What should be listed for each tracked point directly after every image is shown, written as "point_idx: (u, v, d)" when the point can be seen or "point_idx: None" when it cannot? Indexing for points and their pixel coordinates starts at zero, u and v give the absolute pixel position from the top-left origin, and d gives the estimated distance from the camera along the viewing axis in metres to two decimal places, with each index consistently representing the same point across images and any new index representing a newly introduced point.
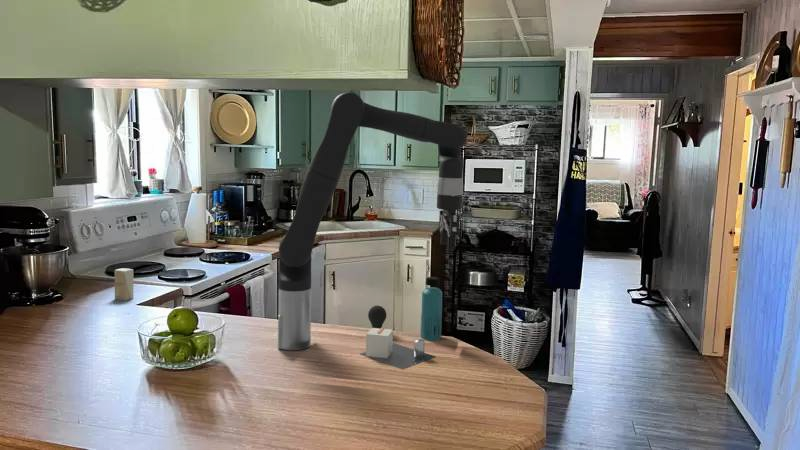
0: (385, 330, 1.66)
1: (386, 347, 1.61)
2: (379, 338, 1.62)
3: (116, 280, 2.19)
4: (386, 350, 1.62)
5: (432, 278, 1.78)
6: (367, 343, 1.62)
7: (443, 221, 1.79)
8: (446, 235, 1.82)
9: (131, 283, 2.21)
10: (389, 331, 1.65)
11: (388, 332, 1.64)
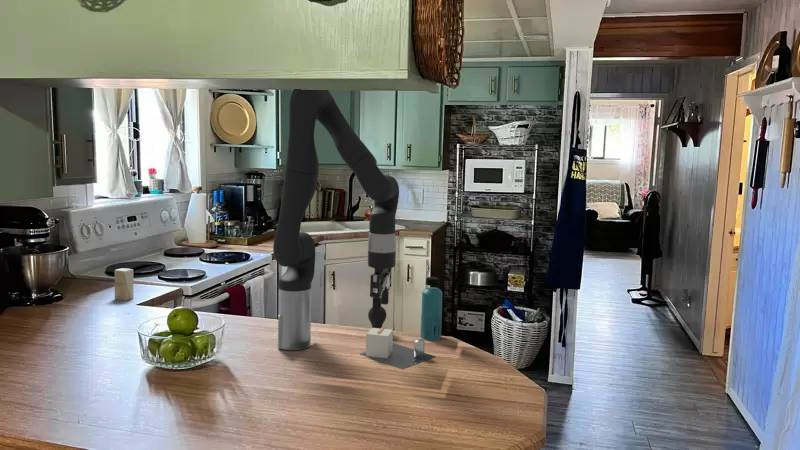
0: (385, 330, 1.66)
1: (386, 347, 1.61)
2: (379, 338, 1.62)
3: (116, 280, 2.19)
4: (386, 350, 1.62)
5: (432, 278, 1.78)
6: (367, 343, 1.62)
7: None
8: None
9: (131, 283, 2.21)
10: (389, 331, 1.65)
11: (388, 332, 1.64)
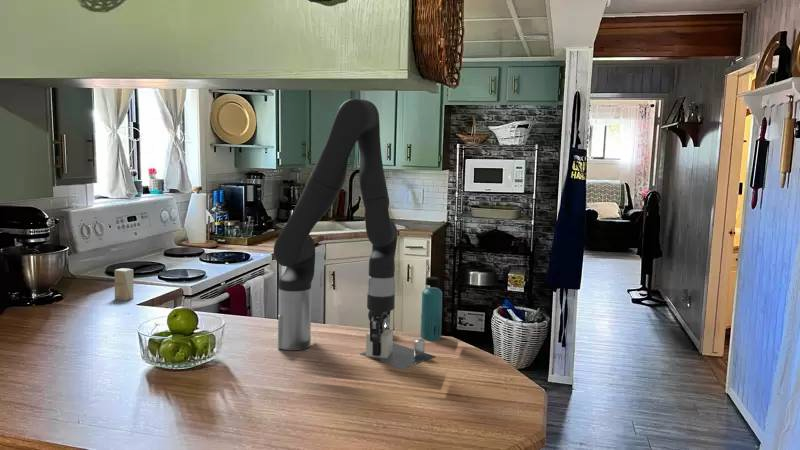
0: (385, 330, 1.66)
1: (386, 347, 1.61)
2: None
3: (116, 280, 2.19)
4: (386, 350, 1.62)
5: (432, 278, 1.78)
6: (367, 343, 1.62)
7: None
8: None
9: (131, 283, 2.21)
10: (389, 331, 1.65)
11: (388, 332, 1.64)
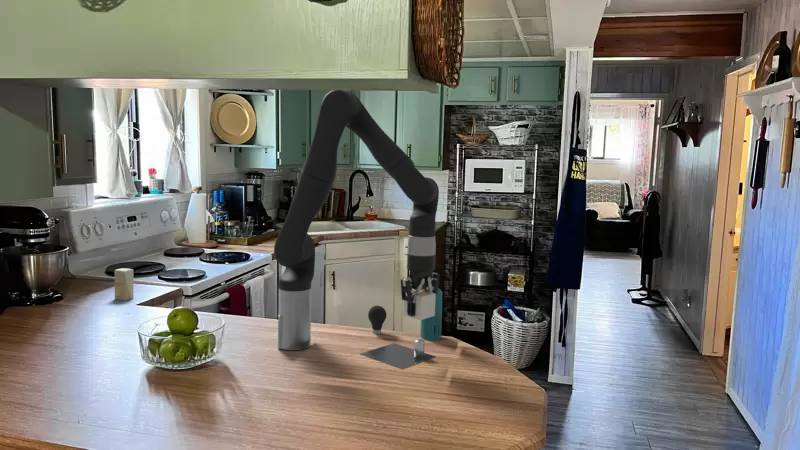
0: (427, 293, 1.62)
1: (420, 308, 1.57)
2: None
3: (116, 280, 2.19)
4: (420, 311, 1.58)
5: None
6: (405, 302, 1.61)
7: None
8: None
9: (131, 283, 2.21)
10: (429, 294, 1.60)
11: (427, 294, 1.60)
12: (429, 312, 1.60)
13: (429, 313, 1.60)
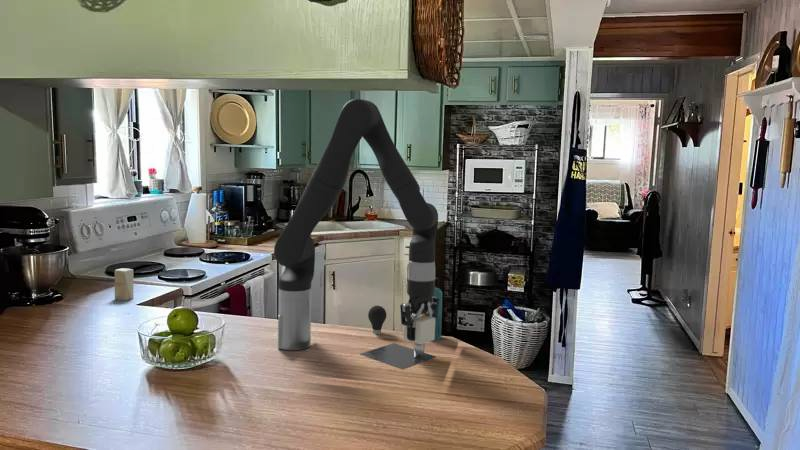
0: (427, 317, 1.63)
1: (419, 333, 1.59)
2: None
3: (116, 280, 2.19)
4: (419, 336, 1.59)
5: None
6: (404, 327, 1.62)
7: None
8: None
9: (131, 283, 2.21)
10: (429, 318, 1.62)
11: (427, 319, 1.61)
12: (429, 336, 1.62)
13: (429, 337, 1.62)
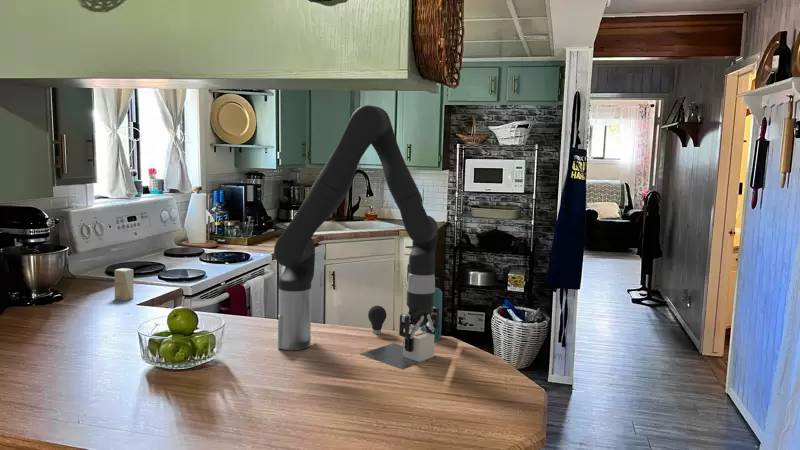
0: (426, 334, 1.64)
1: (419, 350, 1.60)
2: (413, 340, 1.61)
3: (116, 280, 2.19)
4: (419, 353, 1.60)
5: None
6: (404, 344, 1.63)
7: None
8: None
9: (131, 283, 2.21)
10: (428, 335, 1.62)
11: (426, 336, 1.62)
12: (428, 353, 1.62)
13: (428, 354, 1.62)
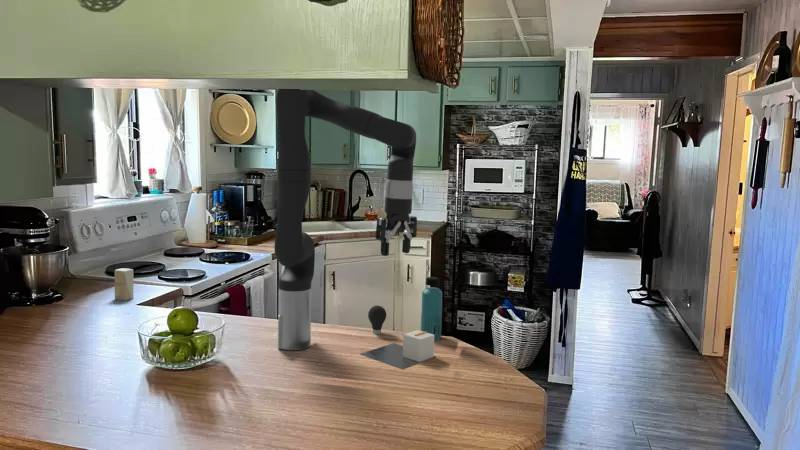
0: (426, 334, 1.64)
1: (419, 350, 1.60)
2: (413, 340, 1.61)
3: (116, 280, 2.19)
4: (419, 353, 1.60)
5: (432, 278, 1.78)
6: (404, 344, 1.63)
7: None
8: None
9: (131, 283, 2.21)
10: (428, 335, 1.62)
11: (426, 336, 1.62)
12: (428, 353, 1.62)
13: (428, 354, 1.62)
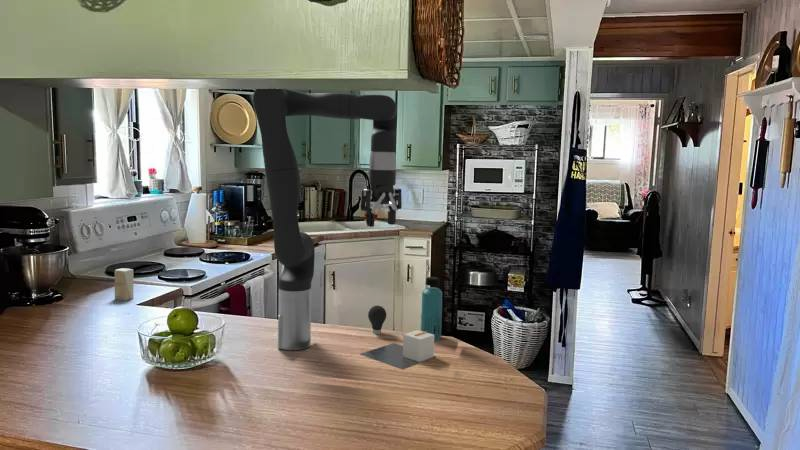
0: (426, 334, 1.64)
1: (419, 350, 1.60)
2: (413, 340, 1.61)
3: (116, 280, 2.19)
4: (419, 353, 1.60)
5: (432, 278, 1.78)
6: (404, 344, 1.63)
7: None
8: None
9: (131, 283, 2.21)
10: (428, 335, 1.62)
11: (426, 336, 1.62)
12: (428, 353, 1.62)
13: (428, 354, 1.62)
